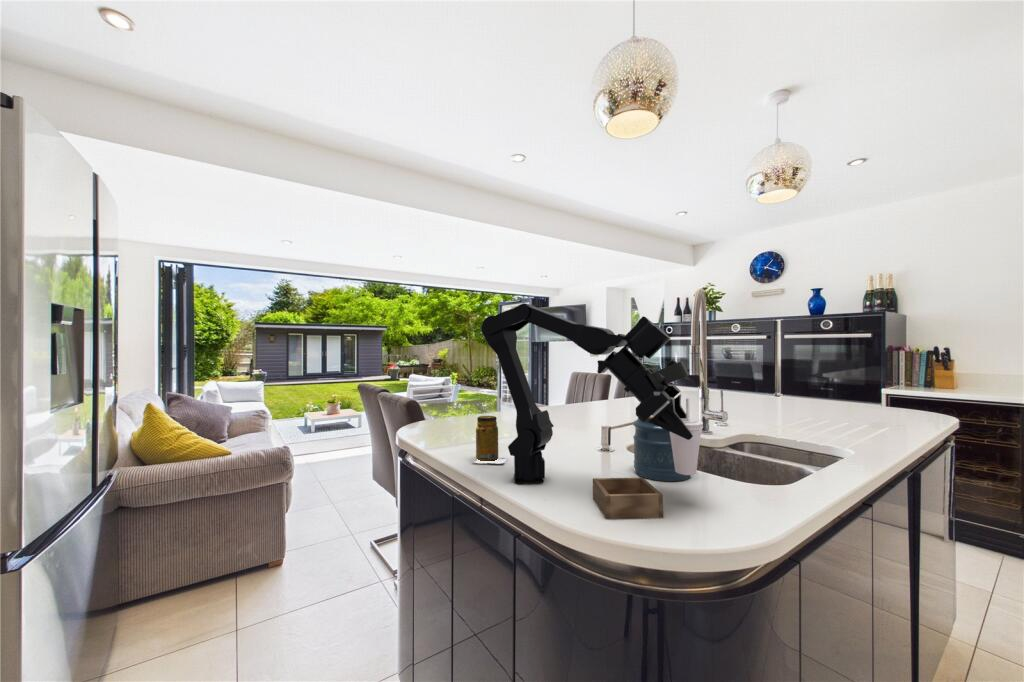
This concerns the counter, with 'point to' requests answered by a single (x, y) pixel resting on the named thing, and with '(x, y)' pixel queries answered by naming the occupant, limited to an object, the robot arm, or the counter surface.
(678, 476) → the canister
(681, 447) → the smoothie
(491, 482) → the counter surface
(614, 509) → the wooden box
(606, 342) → the robot arm
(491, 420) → the condiment
